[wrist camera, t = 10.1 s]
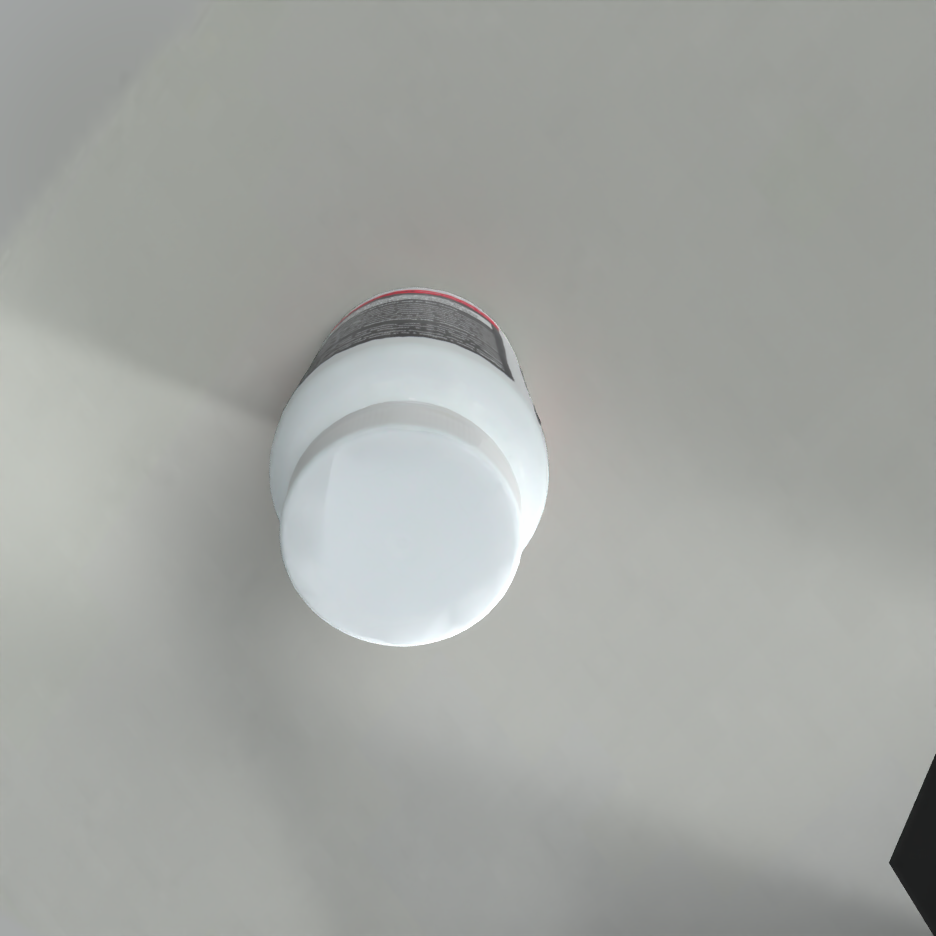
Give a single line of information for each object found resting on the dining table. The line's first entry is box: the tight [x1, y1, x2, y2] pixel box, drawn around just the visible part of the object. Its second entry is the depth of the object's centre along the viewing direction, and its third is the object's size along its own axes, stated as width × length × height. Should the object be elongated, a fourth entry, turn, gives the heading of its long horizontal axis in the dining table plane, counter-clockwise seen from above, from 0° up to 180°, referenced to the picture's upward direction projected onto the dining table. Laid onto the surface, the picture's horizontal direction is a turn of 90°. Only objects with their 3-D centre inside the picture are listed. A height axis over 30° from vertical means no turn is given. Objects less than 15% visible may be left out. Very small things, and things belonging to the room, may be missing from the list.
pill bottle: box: [269, 287, 549, 646], centre depth 19 cm, size 5×5×10 cm
